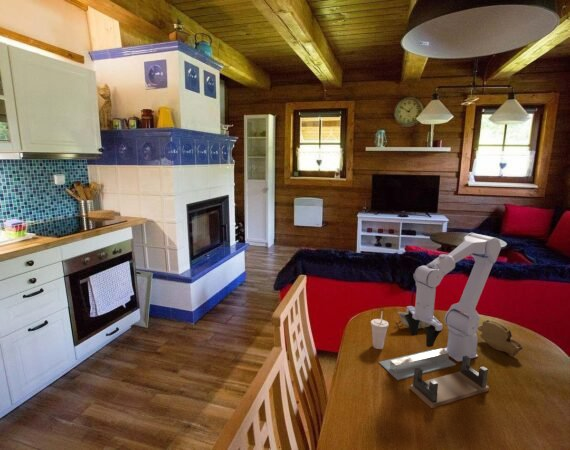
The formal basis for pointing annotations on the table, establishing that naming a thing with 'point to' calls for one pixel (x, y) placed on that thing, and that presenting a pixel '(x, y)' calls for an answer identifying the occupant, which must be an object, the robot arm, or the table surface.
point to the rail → (419, 360)
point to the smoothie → (379, 332)
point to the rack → (450, 385)
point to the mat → (411, 372)
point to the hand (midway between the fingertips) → (421, 340)
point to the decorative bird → (404, 320)
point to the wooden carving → (499, 337)
